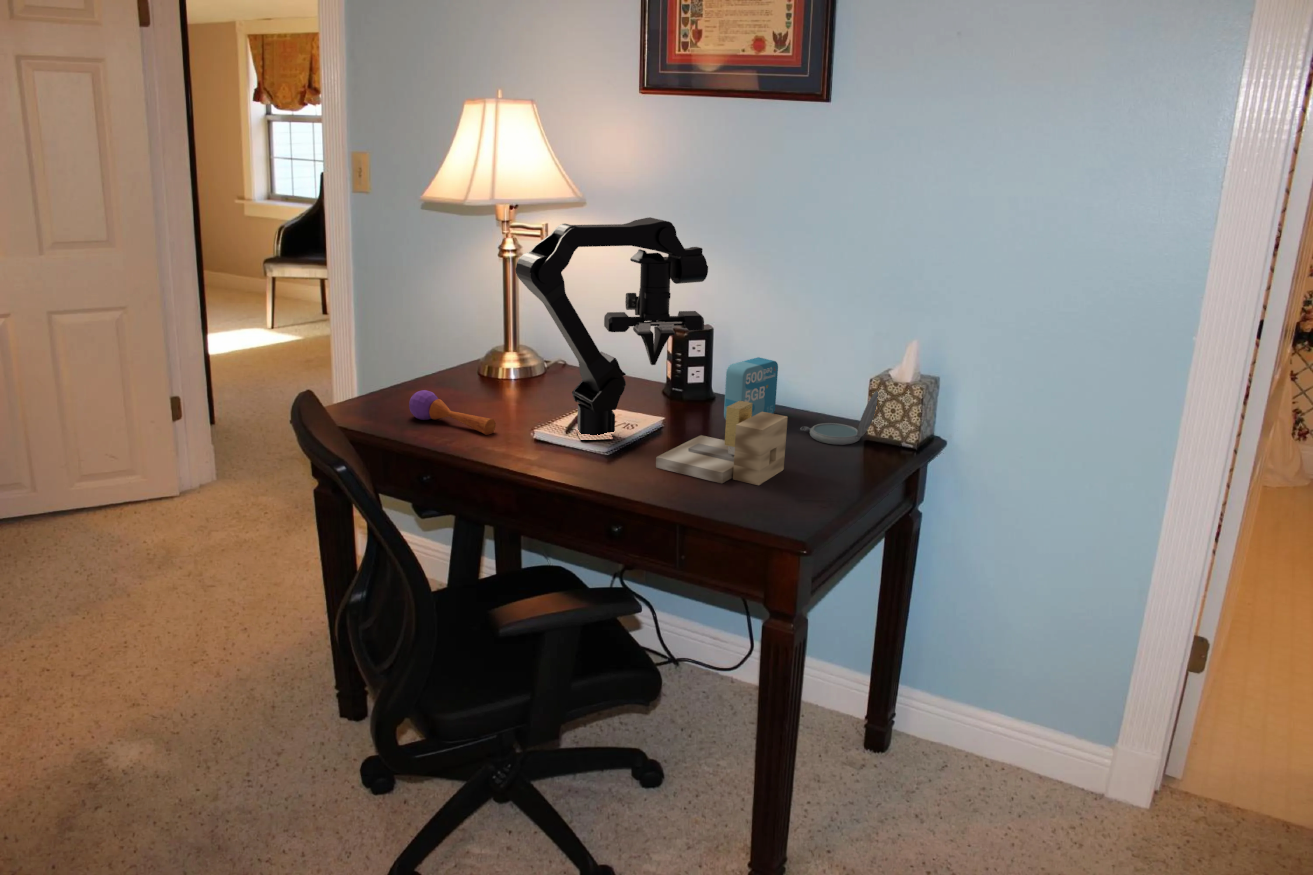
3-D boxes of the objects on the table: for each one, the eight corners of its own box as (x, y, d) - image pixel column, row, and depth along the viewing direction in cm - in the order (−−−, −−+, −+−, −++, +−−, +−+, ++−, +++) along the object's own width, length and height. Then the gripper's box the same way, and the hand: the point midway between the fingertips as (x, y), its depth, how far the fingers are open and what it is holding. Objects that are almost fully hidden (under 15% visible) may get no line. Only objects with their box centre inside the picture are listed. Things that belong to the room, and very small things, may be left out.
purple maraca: (478, 419, 202) (401, 394, 211) (481, 447, 205) (404, 420, 214) (498, 407, 206) (422, 382, 216) (501, 434, 209) (425, 408, 219)
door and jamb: (655, 467, 191) (657, 414, 188) (700, 445, 204) (702, 394, 201) (750, 490, 182) (754, 434, 178) (790, 465, 195) (794, 412, 191)
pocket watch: (870, 397, 200) (795, 385, 207) (865, 452, 204) (791, 438, 210) (885, 385, 209) (813, 374, 215) (880, 438, 212) (808, 426, 219)
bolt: (723, 455, 189) (726, 406, 186) (737, 448, 193) (740, 400, 190) (759, 463, 186) (762, 414, 183) (771, 456, 190) (775, 407, 187)
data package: (740, 426, 216) (743, 369, 212) (722, 421, 219) (726, 365, 215) (775, 415, 225) (779, 359, 221) (757, 410, 228) (761, 355, 224)
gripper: (691, 277, 214) (688, 353, 219) (599, 278, 210) (598, 356, 215) (706, 287, 203) (702, 367, 208) (609, 289, 199) (608, 370, 204)
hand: (652, 364), depth 209 cm, fingers closed
